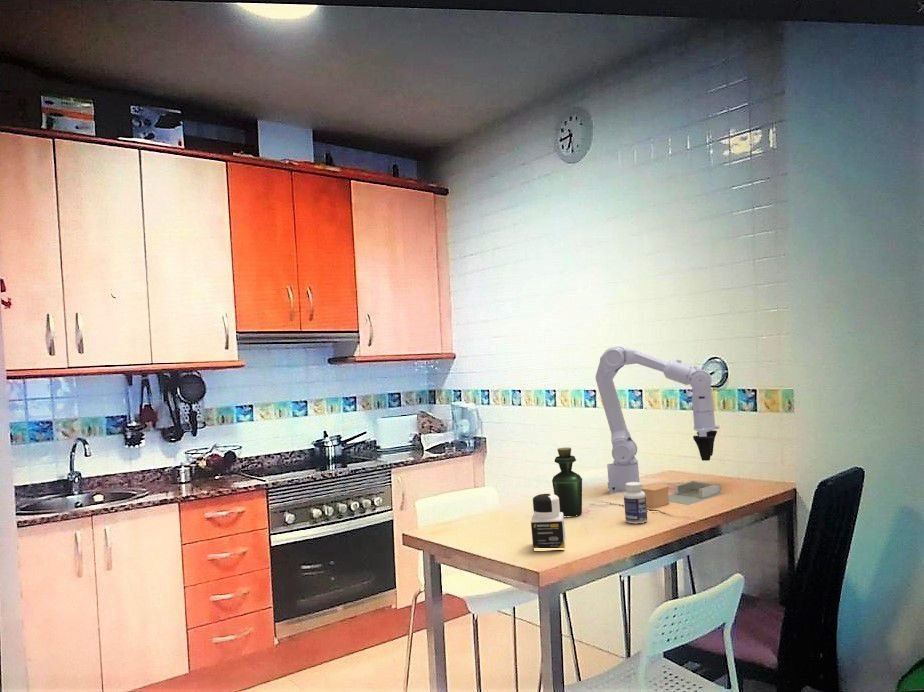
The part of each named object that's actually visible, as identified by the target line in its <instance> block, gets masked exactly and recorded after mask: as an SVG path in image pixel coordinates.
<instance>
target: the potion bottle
mask: <svg viewBox="0 0 924 692" xmlns="http://www.w3.org/2000/svg"><path fill="white" fill-rule="evenodd" d="M556 449H557V453H558V456H555V458H554V463H556V464H558V467H559V469H560V471H559V472H558V473H557V474H554V476H553V478H552V479H551V483H552V488H553V494H554V495H557V496H558V497H559V505H560V512H563V515H564V516H576V515H579V516H581V515H582V513H583V478H582V476H581V475H580V474H578V473H576V472H575V471H574V470H572V469H573V464H574V463H575V462H576V461H577V459H576V456H575V455H572V447H566V446H565V447H558V448H556ZM580 514H581V515H580ZM576 517H577V516H576Z"/></svg>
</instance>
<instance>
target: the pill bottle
mask: <svg viewBox="0 0 924 692" xmlns="http://www.w3.org/2000/svg"><path fill="white" fill-rule="evenodd" d="M642 485H643V484H642V483H641V482H629V483H626V490H627V491H624V493H623V503H624V515H625V517H624V518H625V522H626V523H627V522H628V523H627V524H629V523H636V524H635V525H638V524H637V523H643V524H645V523H644V522H646V523H647V522H648V511H647V508H648V507H646V496H645V493H644V492H643V491H641V489H642V488H643V486H642Z"/></svg>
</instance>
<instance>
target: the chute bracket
mask: <svg viewBox="0 0 924 692" xmlns="http://www.w3.org/2000/svg"><path fill="white" fill-rule="evenodd" d="M720 486H721V484H720V483H719V484H718V483H712V482H707V481H706V482H705V481H697V480H690V481H686V482H684V483H683V482H682V483H679V484H676V485H674V494H675V495H683V496H689V497H696V498H701V499H704V498H707V497H710V496H713V495H716V494H720V493H721V487H720Z"/></svg>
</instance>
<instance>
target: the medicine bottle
mask: <svg viewBox="0 0 924 692" xmlns="http://www.w3.org/2000/svg"><path fill="white" fill-rule="evenodd" d="M532 508H533V513H532V517H531V521H530V528H531V538H532V539H531V540H532V549H533V548H565V549H566V543H565V540H566V541H567V539H566V531H565V530H566V529H565V519H564V518H565V517H564V515H563V512H560V505H559V497H558V496H557V495H554V493H542V494H541V493H540V494H537V495H536V496H533V498H532Z"/></svg>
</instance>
